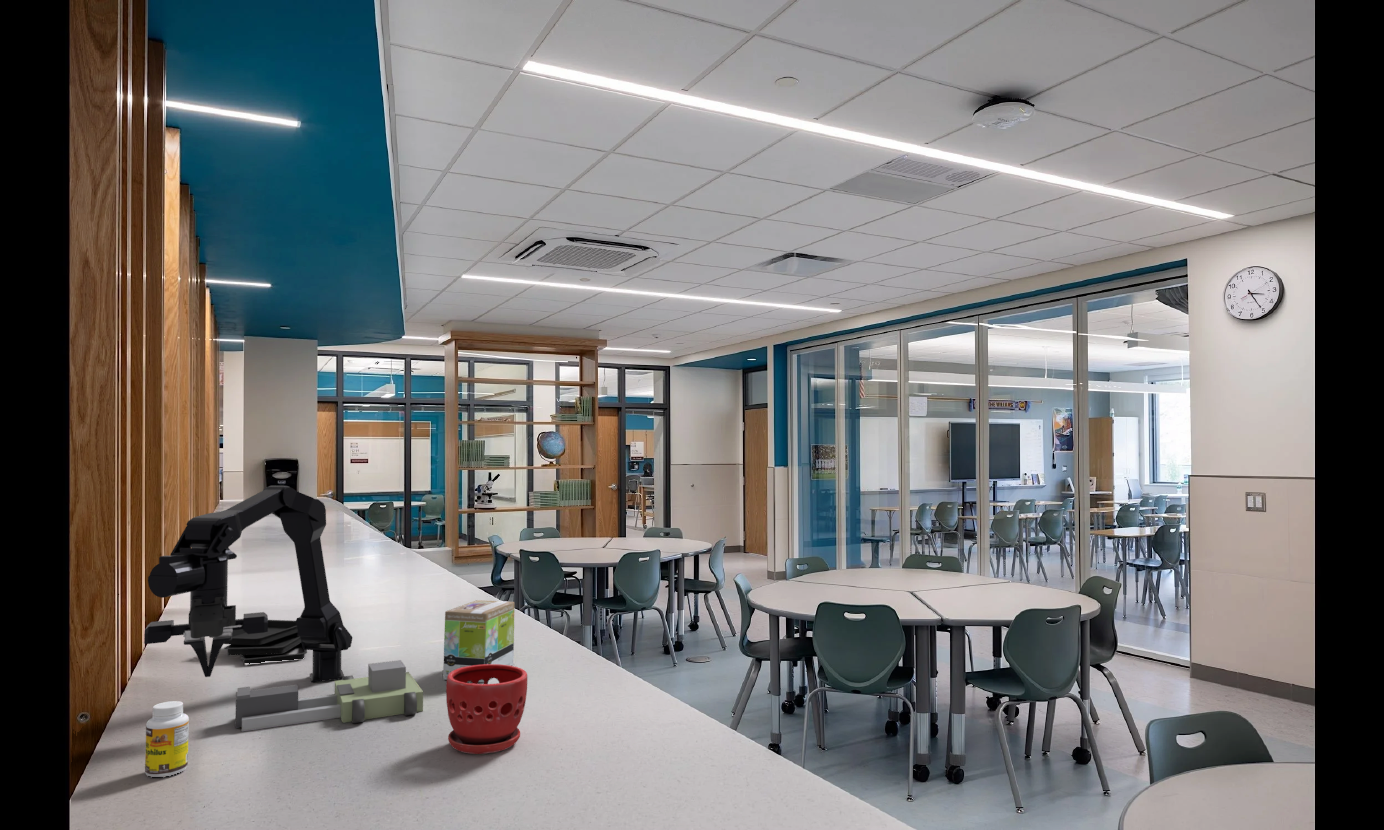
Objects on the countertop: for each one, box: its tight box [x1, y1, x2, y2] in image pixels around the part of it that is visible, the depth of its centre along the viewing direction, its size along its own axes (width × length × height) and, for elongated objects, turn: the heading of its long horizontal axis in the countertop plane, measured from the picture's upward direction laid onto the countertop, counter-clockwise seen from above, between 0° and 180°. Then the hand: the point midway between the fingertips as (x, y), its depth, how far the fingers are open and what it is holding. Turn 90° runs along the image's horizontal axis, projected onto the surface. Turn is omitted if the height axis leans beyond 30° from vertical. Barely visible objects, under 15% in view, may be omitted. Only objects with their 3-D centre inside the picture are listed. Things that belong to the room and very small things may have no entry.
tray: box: [208, 619, 308, 664], centre depth 205 cm, size 30×23×5 cm
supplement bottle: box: [144, 700, 190, 778], centre depth 128 cm, size 6×6×10 cm
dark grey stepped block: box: [234, 684, 299, 729], centre depth 152 cm, size 6×10×6 cm, turn 118°
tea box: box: [442, 599, 515, 683], centre depth 184 cm, size 15×10×15 cm
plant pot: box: [445, 664, 528, 755], centre depth 139 cm, size 13×13×12 cm
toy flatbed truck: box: [241, 659, 424, 732], centre depth 158 cm, size 22×30×8 cm
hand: (207, 676), depth 148 cm, fingers closed
